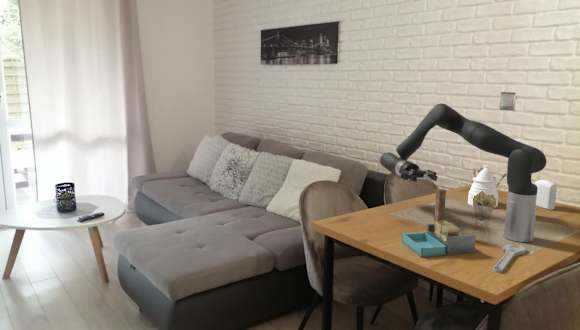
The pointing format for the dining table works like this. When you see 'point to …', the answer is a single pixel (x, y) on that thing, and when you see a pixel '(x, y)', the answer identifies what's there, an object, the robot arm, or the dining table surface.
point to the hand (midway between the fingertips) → (426, 178)
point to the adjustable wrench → (508, 257)
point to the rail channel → (454, 241)
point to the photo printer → (546, 194)
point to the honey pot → (483, 185)
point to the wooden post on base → (440, 205)
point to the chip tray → (424, 244)
